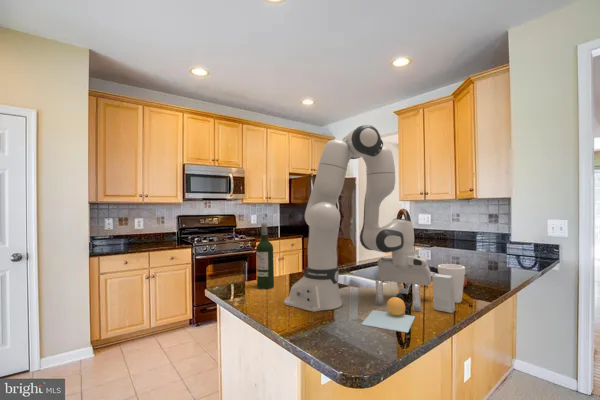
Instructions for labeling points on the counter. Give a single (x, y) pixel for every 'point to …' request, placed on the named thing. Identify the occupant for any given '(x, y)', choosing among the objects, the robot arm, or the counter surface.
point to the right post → (416, 297)
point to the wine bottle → (265, 261)
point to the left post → (379, 292)
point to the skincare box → (443, 293)
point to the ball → (396, 306)
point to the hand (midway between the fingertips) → (404, 293)
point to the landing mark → (389, 321)
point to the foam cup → (454, 278)
